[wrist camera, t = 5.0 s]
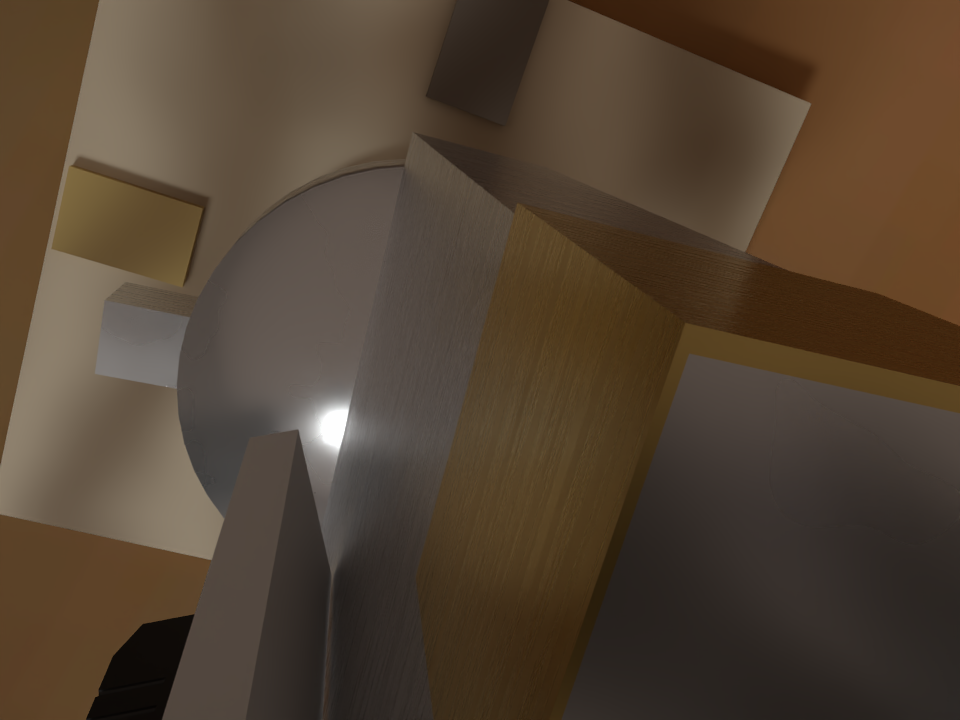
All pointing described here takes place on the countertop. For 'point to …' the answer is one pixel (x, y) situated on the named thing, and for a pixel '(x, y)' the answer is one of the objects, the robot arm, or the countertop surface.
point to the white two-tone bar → (577, 451)
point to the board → (311, 154)
